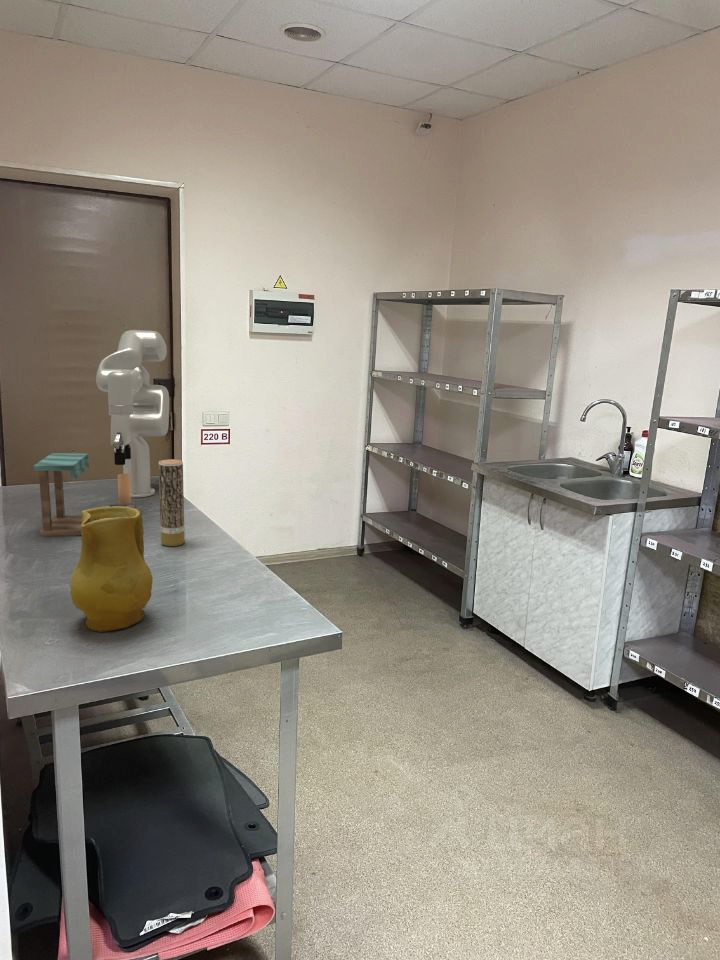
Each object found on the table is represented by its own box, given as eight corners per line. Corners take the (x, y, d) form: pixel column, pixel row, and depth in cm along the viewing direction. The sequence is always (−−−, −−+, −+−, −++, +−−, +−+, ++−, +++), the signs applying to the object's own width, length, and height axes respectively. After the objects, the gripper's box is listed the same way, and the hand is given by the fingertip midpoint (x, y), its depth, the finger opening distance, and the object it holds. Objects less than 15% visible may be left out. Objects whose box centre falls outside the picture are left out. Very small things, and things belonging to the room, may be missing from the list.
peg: (120, 514, 230) (118, 473, 226) (132, 514, 230) (131, 474, 227) (118, 517, 226) (116, 476, 223) (130, 517, 226) (129, 476, 223)
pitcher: (58, 618, 152) (51, 510, 146) (137, 596, 164) (133, 497, 159) (91, 645, 140) (85, 530, 134) (173, 620, 153) (170, 514, 147)
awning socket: (56, 519, 221) (51, 453, 216) (142, 519, 225) (139, 454, 220) (39, 536, 204) (33, 465, 199) (132, 536, 208) (129, 466, 203)
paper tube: (187, 540, 206) (186, 460, 200) (179, 547, 199) (177, 464, 194) (166, 539, 207) (163, 458, 201) (157, 546, 200) (154, 463, 194)
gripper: (114, 406, 227) (116, 456, 231) (102, 413, 211) (105, 467, 214) (137, 407, 229) (139, 457, 232) (128, 413, 212) (130, 467, 215)
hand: (123, 461), depth 223 cm, fingers open, 9 cm apart
